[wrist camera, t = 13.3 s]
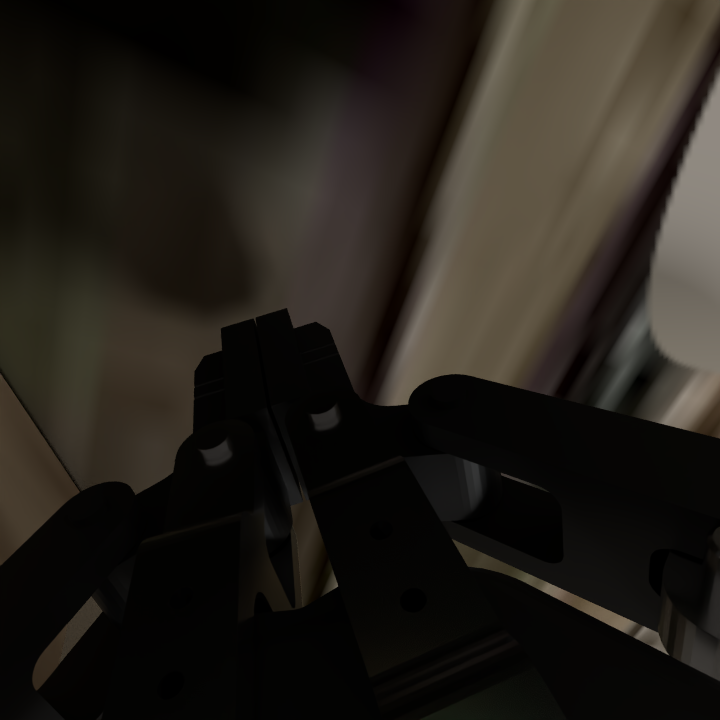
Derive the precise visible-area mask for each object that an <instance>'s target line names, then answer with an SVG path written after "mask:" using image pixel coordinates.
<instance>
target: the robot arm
mask: <svg viewBox="0 0 720 720" xmlns="http://www.w3.org/2000/svg"><path fill="white" fill-rule="evenodd" d="M256 324H257V326H256ZM221 339H222V351H219V352H216V353H213V354H210V355H206V356H204V357H203V359H202V360H201V362H200V364H199V365H198V367H197V368H196V370H195V375H194V386H195V388H194V398H195V400H194V416H193V434H191V435H190V436H189V437H188V438H187V439H186V440H185V441H184V442H183V443H182V445H181V446H180V447H179V449H178V451H177V454H176V459H175V465H174V470H173V473H172V474H171V475H169V476H168V477H166V478H165V479H163V480H162V481H160V482H158V483H156V484H155V485H153V486H151V487H149V488H147V489H146V490H144V491H142V492H140V493H138V494H137V495H135V493H134V492H133V490H132V489H131V487H130V486H129V485H127V484H125V483H122V482H116V481H115V482H105V483H101V484H97V485H94V486H92V487H89V488H87V489H85V490H83V491H81V492H80V493H78V494H77V495H75V496H74V497H72V498H71V499H69V500H68V501H67V502H66V503H65V504H64V505H63V506H61V507H60V508H59V509H58V510H57V511H56V512H55V513H54V514H53V515H52V516H51V517H50V518H49V519H48V520H47V521H46V522H45V523H44V524H43V525H42V526H41V527H40V528H39V529H38V530H37V531H36V532H35V533H34V534H33V535H32V536H31V537H30V538H29V539H28V540H27V541H25V542H24V543H23V544H22V545H21V546H20V547H19V548H18V549H17V550H16V551H15V552H14V553H13V554H12V555H11V556H10V557H9V558H8V559H7V560H6V561H5V562H4V563H3V564H2V565H1V566H0V720H720V439H719V438H715V437H711V436H707V435H703V434H699V433H695V432H691V431H687V430H683V429H680V428H676V427H672V426H668V425H664V424H660V423H656V422H652V421H648V420H644V419H640V418H636V417H632V416H628V415H624V414H620V413H616V412H612V411H608V410H604V409H600V408H596V407H592V406H588V405H584V404H580V403H576V402H572V401H568V400H564V399H560V398H556V397H552V396H548V395H544V394H540V393H536V392H532V391H528V390H524V389H520V388H516V387H512V386H508V385H504V384H500V383H496V382H492V381H488V380H484V379H480V378H476V377H472V376H468V375H460V374H450V375H443V376H439V377H435V378H433V379H430V380H428V381H426V382H424V383H423V384H421V385H419V386H418V387H417V388H416V389H415V390H414V391H413V392H412V394H411V396H410V398H409V401H408V405H398V406H379V405H374V404H370V403H367V402H365V401H363V400H362V399H360V397H359V396H358V394H356V393H355V392H354V390H353V387H352V385H351V382H350V380H349V377H348V375H347V372H346V370H345V367H344V365H343V362H342V360H341V357H340V355H339V353H338V350H337V347H336V345H335V343H334V340H333V337H332V335H331V332H330V330H329V329H327V328H326V327H324V326H322V325H321V324H319V323H317V322H314V323H310V324H307V325H304V326H301V327H297V328H293V325H292V322H291V319H290V316H289V313H288V310H287V308H285V309H282V310H279V311H276V312H272V313H269V314H266V315H262V316H259V317H256V323H255V321H254V319H249V320H246V321H243V322H240V323H236V324H233V325H230V326H226V327H223V328H221ZM501 473H504V474H507V475H510V476H512V477H515V478H518V479H521V480H524V481H527V482H529V483H532V484H535V485H538V486H540V487H542V488H544V489H546V490H547V491H549V492H550V493H549V492H546V491H543V490H540V489H538V488H535V487H532V486H529V485H526V484H524V483H521V482H518V481H515V480H512V479H509V478H507V477H504V476H501ZM299 482H300V484H299ZM300 485H301V487H302V490H303V493H304V495H305V498H306V500H310V503H311V506H312V509H313V512H314V515H315V518H316V521H317V524H318V527H319V530H320V533H321V536H322V539H323V542H324V545H325V548H326V550H327V553H328V556H329V559H330V562H331V565H332V568H333V571H334V574H335V577H336V580H337V583H338V587H337V588H335V589H333V590H332V591H330V592H328V593H327V594H325V595H324V596H322V597H320V598H319V599H317V600H315V601H314V602H312V603H310V604H309V605H307V606H305V607H303V605H302V593H301V580H300V568H299V556H298V543H297V536H296V534H295V531H294V529H293V526H292V524H293V519H292V513H291V507H290V506H291V505H294V504H298V503H301V502H303V499H302V494H301V489H300ZM452 539H453V540H456V541H458V542H460V543H462V544H464V545H467V546H469V547H471V548H473V549H475V550H478V551H480V552H482V553H484V554H486V555H489V556H491V557H493V558H495V559H497V560H500V561H502V562H504V563H506V564H508V565H511V566H513V567H515V568H517V569H519V570H522V571H524V572H526V573H528V574H530V575H533V576H535V577H537V578H539V579H541V580H544V581H546V582H548V583H550V584H552V585H555V586H557V587H559V588H561V589H563V590H566V591H568V592H570V593H572V594H574V595H577V596H579V597H581V598H583V599H585V600H588V601H590V602H592V603H594V604H596V605H599V606H601V607H603V608H605V609H607V610H610V611H612V612H614V613H616V614H618V615H621V616H623V617H625V618H627V619H629V620H632V621H634V622H636V623H638V624H640V625H643V626H645V627H647V628H649V629H651V630H654V631H656V632H658V633H659V636H660V639H661V642H662V644H663V646H664V648H665V650H666V651H667V653H668V654H669V655H670V656H669V655H667V654H665V653H663V652H661V651H659V650H657V649H655V648H653V647H651V646H649V645H647V644H645V643H643V642H641V641H639V640H637V639H635V638H633V637H631V636H629V635H628V634H626V633H624V632H622V631H620V630H618V629H616V628H614V627H612V626H610V625H608V624H606V623H604V622H602V621H600V620H598V619H596V618H594V617H592V616H590V615H588V614H586V613H584V612H582V611H580V610H578V609H576V608H574V607H572V606H570V605H568V604H566V603H564V602H562V601H560V600H558V599H556V598H554V597H552V596H550V595H548V594H546V593H544V592H542V591H540V590H538V589H536V588H534V587H533V586H531V585H529V584H527V583H525V582H522V581H520V580H518V579H516V578H513V577H511V576H508V575H505V574H502V573H499V572H495V571H491V570H487V569H483V568H474V567H468V566H467V564H466V563H465V561H464V559H463V558H462V556H461V554H460V553H459V551H458V549H457V547H456V546H455V544H454V542H453V541H452ZM91 596H92V598H93V599H94V600H95V602H96V603H97V604H98V605H99V607H100V608H101V609H102V611H103V612H102V613H101V614H100V615H99V617H98V618H97V619H96V620H95V622H94V623H93V624H92V625H91V626H90V628H89V629H88V630H87V631H86V632H85V634H84V635H83V636H82V637H81V639H80V640H79V641H78V642H77V643H76V645H75V646H74V647H73V648H72V649H71V651H70V652H69V653H68V654H67V656H66V657H65V658H64V659H63V660H62V662H61V663H60V664H59V665H58V667H57V668H56V669H55V670H54V671H53V673H52V674H51V675H50V676H49V677H48V679H47V680H46V681H45V682H44V684H43V685H42V686H41V687H40V688H39V689H38V690H37V691H36V689H35V688H34V686H33V681H32V678H33V671H34V668H35V665H36V663H37V661H38V659H39V657H40V656H41V654H42V653H43V652H44V650H45V649H46V648H47V647H48V646H49V645H50V643H51V642H52V641H53V640H54V639H55V638H56V636H57V635H58V634H59V633H60V632H61V631H62V629H63V628H64V627H65V626H66V625H67V624H68V622H69V621H70V620H71V619H72V618H73V617H74V615H75V614H76V613H77V612H78V611H79V610H80V608H81V607H82V606H83V605H84V604H85V603H86V601H87V600H88V599H89V598H90V597H91Z"/></svg>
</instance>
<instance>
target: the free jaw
mask: <svg viewBox="0 0 720 720" xmlns="http://www.w3.org/2000/svg"><path fill="white" fill-rule="evenodd" d="M78 493H80V491H79V490H78V489H77V487H76V486H75V484H74V483H73V481H72V480H71V478H70V477H69V475H68V474H67V472H66V471H65V469H64V468H63V466H62V465H61V463H60V462H59V460H58V459H57V457H56V456H55V454H54V453H53V451H52V450H51V448H50V447H49V445H48V444H47V442H46V441H45V439H44V438H43V436H42V435H41V433H40V432H39V430H38V429H37V427H36V426H35V424H34V423H33V421H32V420H31V418H30V417H29V415H28V414H27V412H26V411H25V409H24V408H23V406H22V405H21V403H20V402H19V400H18V399H17V397H16V396H15V394H14V393H13V391H12V390H11V388H10V387H9V385H8V384H7V382H6V381H5V379H4V378H3V376H2V375H1V373H0V566H1V565H2V564H3V563H4V562H5V561H6V560H7V559H8V558H9V557H10V556H11V555H12V554H13V553H14V552H15V551H16V550H17V549H18V548H19V547H20V546H21V545H22V544H23V543H24V542H25V541H27V540H28V539H29V538H30V537H31V536H32V535H33V534H34V533H35V532H36V531H37V530H38V529H39V528H40V527H41V526H42V525H43V524H44V523H45V522H46V521H47V520H48V519H49V518H50V517H51V516H52V515H53V514H54V513H55V512H56V511H57V510H58V509H59V508H60V507H61V506H63V505H64V504H65V503H66V502H67V501H68V500H69V499H71V498H72V497H74V496H75V495H77V494H78ZM67 625H68V624H67ZM67 625H66V626H65V627H64V628H63V629H62V631H61V632H60V633H59V634H58V635H57V636H56V638H55V639H54V640H53V641H52V642H51V643H50V645H49V646H48V647H47V648H46V649H45V650H44V652H43V653H42V654H41V656H40V657H39V659H38V661H37V663H36V665H35V668H34V671H33V678H32V681H33V686H34V688H35V689H36V691H37V690H38V689H39V688H40V687H41V686H42V685H43V684H44V682H45V681H46V680H47V679H48V677H49V676H50V675H51V674H52V673H53V671H54V670H55V669H56V668H57V667H58V665H59V662H60V657H61V652H62V648H63V643H64V639H65V634H66V630H67Z"/></svg>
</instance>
